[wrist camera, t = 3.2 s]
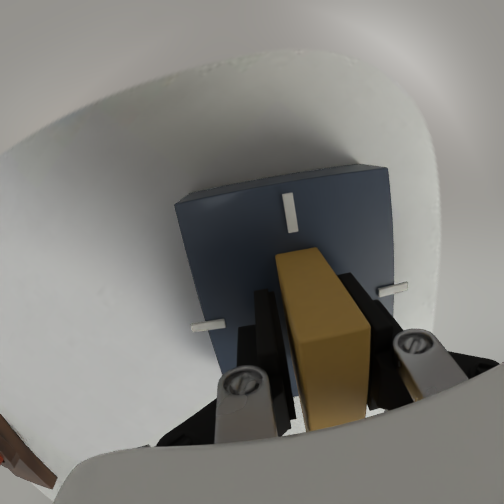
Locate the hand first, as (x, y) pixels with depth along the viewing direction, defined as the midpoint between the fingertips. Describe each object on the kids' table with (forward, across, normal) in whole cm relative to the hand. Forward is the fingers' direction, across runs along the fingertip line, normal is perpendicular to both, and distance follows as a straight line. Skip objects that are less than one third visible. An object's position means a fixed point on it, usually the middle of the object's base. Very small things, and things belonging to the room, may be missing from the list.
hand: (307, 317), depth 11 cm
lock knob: (+1, 0, 0) cm, 1 cm away
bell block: (+4, +35, +17) cm, 39 cm away
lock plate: (+4, 0, 0) cm, 4 cm away
